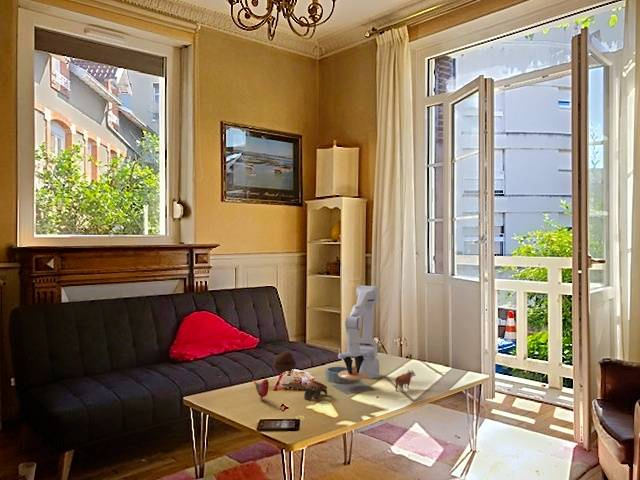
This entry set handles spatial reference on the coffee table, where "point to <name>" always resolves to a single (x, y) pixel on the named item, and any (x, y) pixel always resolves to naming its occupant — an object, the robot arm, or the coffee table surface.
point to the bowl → (335, 374)
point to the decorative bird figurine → (262, 388)
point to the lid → (353, 374)
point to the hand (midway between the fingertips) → (353, 373)
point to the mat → (353, 387)
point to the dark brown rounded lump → (284, 362)
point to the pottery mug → (315, 390)
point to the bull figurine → (404, 379)
